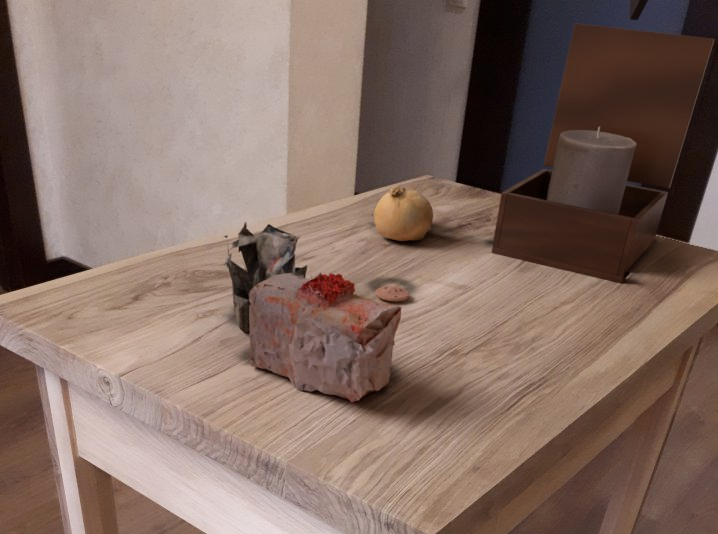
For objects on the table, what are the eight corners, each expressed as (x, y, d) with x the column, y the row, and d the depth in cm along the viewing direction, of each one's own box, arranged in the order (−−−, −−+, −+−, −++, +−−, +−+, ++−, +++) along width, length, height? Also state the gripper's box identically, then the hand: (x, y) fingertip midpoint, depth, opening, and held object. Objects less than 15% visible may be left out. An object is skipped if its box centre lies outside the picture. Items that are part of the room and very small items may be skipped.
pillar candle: (523, 238, 110) (545, 120, 101) (577, 231, 114) (603, 117, 105) (569, 261, 103) (597, 137, 94) (625, 253, 107) (657, 133, 98)
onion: (382, 225, 113) (387, 173, 109) (436, 234, 111) (443, 182, 107) (364, 241, 107) (369, 187, 103) (421, 251, 105) (428, 196, 101)
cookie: (407, 305, 90) (408, 296, 89) (371, 300, 90) (372, 292, 90) (411, 293, 93) (412, 284, 92) (377, 288, 93) (378, 280, 93)
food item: (405, 384, 74) (416, 282, 69) (361, 418, 69) (370, 311, 63) (285, 344, 80) (287, 247, 74) (236, 373, 74) (234, 270, 68)
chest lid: (713, 38, 97) (714, 39, 98) (574, 23, 104) (576, 23, 105) (668, 188, 107) (669, 188, 107) (543, 165, 113) (545, 165, 114)
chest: (621, 283, 100) (638, 220, 95) (491, 252, 107) (501, 192, 102) (651, 249, 112) (668, 191, 107) (532, 223, 118) (543, 168, 114)
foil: (180, 297, 80) (240, 184, 84) (218, 358, 89) (271, 254, 94) (282, 317, 76) (340, 198, 80) (311, 379, 85) (361, 269, 90)
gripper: (675, -188, 54) (574, 38, 75) (1031, -162, 55) (833, 55, 76) (673, -280, 55) (574, -32, 76) (1021, -253, 56) (829, -14, 77)
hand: (703, 12), depth 76 cm, fingers open, 13 cm apart
